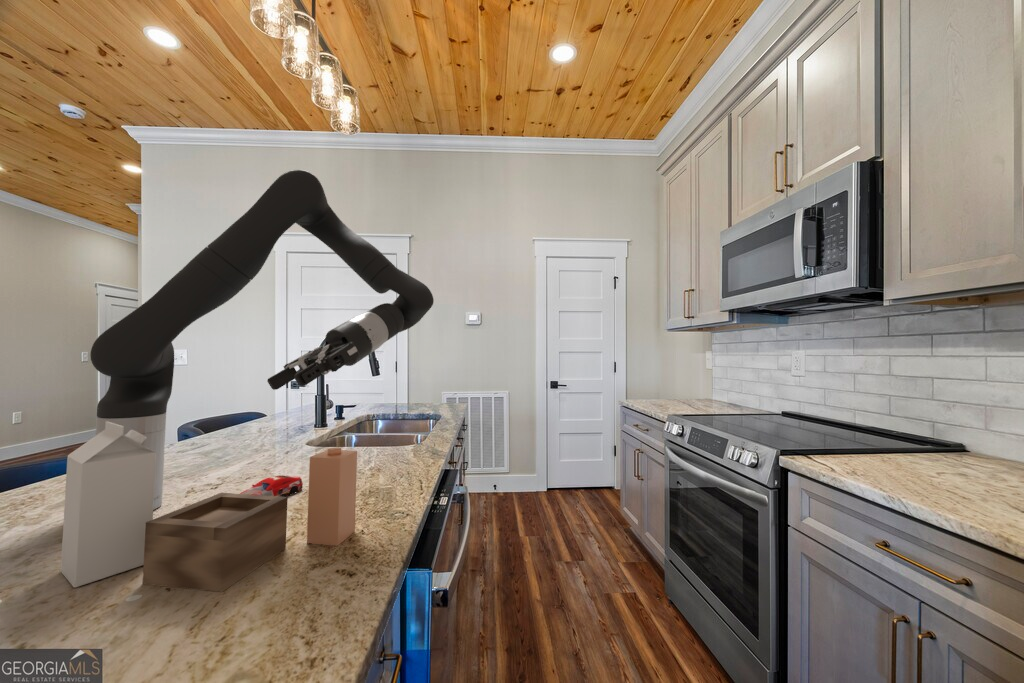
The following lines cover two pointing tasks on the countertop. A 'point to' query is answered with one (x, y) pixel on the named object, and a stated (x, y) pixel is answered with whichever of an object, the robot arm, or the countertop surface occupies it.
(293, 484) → the race car
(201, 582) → the wooden box
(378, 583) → the countertop surface
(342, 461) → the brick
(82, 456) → the milk carton
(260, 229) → the robot arm
